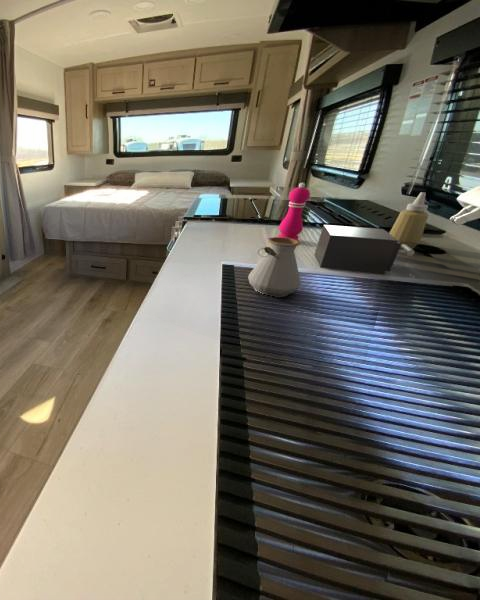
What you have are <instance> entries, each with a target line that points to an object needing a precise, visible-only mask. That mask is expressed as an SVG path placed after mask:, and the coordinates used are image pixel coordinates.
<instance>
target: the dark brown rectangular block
mask: <svg viewBox="0 0 480 600" xmlns="http://www.w3.org/2000/svg"><path fill="white" fill-rule="evenodd" d="M389 233H390V232H388V231H387V230H385V229H384V228H374V227H362V226H361V227H358V226H346V225H345V226H344V225H332V224H323V226H322V229H321V232H320V235H319V238H318V242H317V245H316V248H315V252H314V257H315V259H316V261H317V263H318V265H319V268H321V269H331V270H340V271H349V272H356V273H357V272H358V273H365V274H373V273H374V274H375V275H385V273H386V271H385V270H386V268H387V266H388V263H389V261H390V258H391V256H392V254H393V251H394V249H395V246H396V244H397V242H398V240H397V239H395V238H394V237H393V236H391V235H390V234H389Z"/></svg>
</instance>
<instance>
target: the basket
mask: <svg viewBox="0 0 480 600" xmlns="http://www.w3.org/2000/svg"><path fill="white" fill-rule="evenodd" d="M399 249H401V250H399ZM398 254H405V255H406V256H409V257H410V256H414V255H415V250H414V249H411V248H410V247H408V246H407V245H406V244H402V245H401V243H400V242H399V241H398V242H397V244H396V246H395V249H394V251H393V254H392V256H391V258H390V261H389V263H388V266H387V268H386V270H385V272H391V270H392V268H393V265H394V263H395V260H396V258H397V256H398Z"/></svg>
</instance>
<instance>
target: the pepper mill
mask: <svg viewBox="0 0 480 600" xmlns="http://www.w3.org/2000/svg"><path fill="white" fill-rule="evenodd" d="M310 196H311V192H310V190H309V189H308V188H306V183H305V182H300V183H299V184H298V187H295V188H293V189H291V191H290V192H289V194H288V198H289V199H288V200H289V202H288V210H287V213H286V215H285V217H284V218H283V219H282V220H281V222H280V224H279V227H278V231H279V232H280V233H279V234H278V236H277V237H284V238H291V239H295V240H297V241H299V238H300V236H299V234H301V233H302V232H303V228H304V227H303V226H304V225H303V224H304V223H303V219H302V218H303V217H302V214H303V210H304V208H305V207H306V204H307V203H306V202H307V201H308V200H309V199H310Z"/></svg>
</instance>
